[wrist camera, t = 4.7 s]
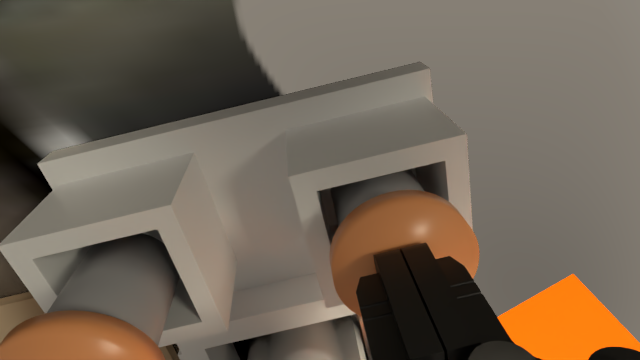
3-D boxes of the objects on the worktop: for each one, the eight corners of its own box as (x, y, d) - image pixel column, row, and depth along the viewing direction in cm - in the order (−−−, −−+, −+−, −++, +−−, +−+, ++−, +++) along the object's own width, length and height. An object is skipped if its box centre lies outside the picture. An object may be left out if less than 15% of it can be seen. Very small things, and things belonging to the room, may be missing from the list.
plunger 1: (168, 206, 14) (117, 318, 10) (210, 299, 16) (184, 428, 11) (45, 235, 14) (-62, 359, 10) (102, 324, 16) (35, 462, 12)
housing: (420, 61, 17) (474, 99, 12) (453, 370, 25) (493, 461, 20) (52, 151, 17) (-33, 221, 12) (207, 426, 25) (192, 529, 21)
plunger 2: (418, 123, 15) (476, 188, 11) (429, 218, 17) (482, 305, 13) (306, 150, 16) (318, 225, 11) (329, 241, 17) (347, 336, 13)
